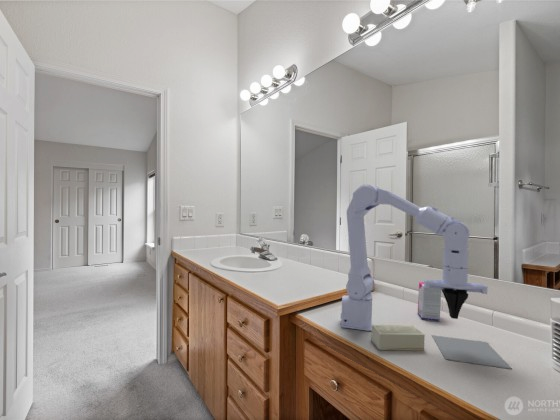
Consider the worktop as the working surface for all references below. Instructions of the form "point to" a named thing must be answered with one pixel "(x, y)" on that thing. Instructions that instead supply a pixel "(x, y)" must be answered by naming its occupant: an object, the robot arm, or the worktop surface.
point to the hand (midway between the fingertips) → (453, 317)
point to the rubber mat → (469, 351)
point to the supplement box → (429, 303)
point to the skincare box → (397, 337)
